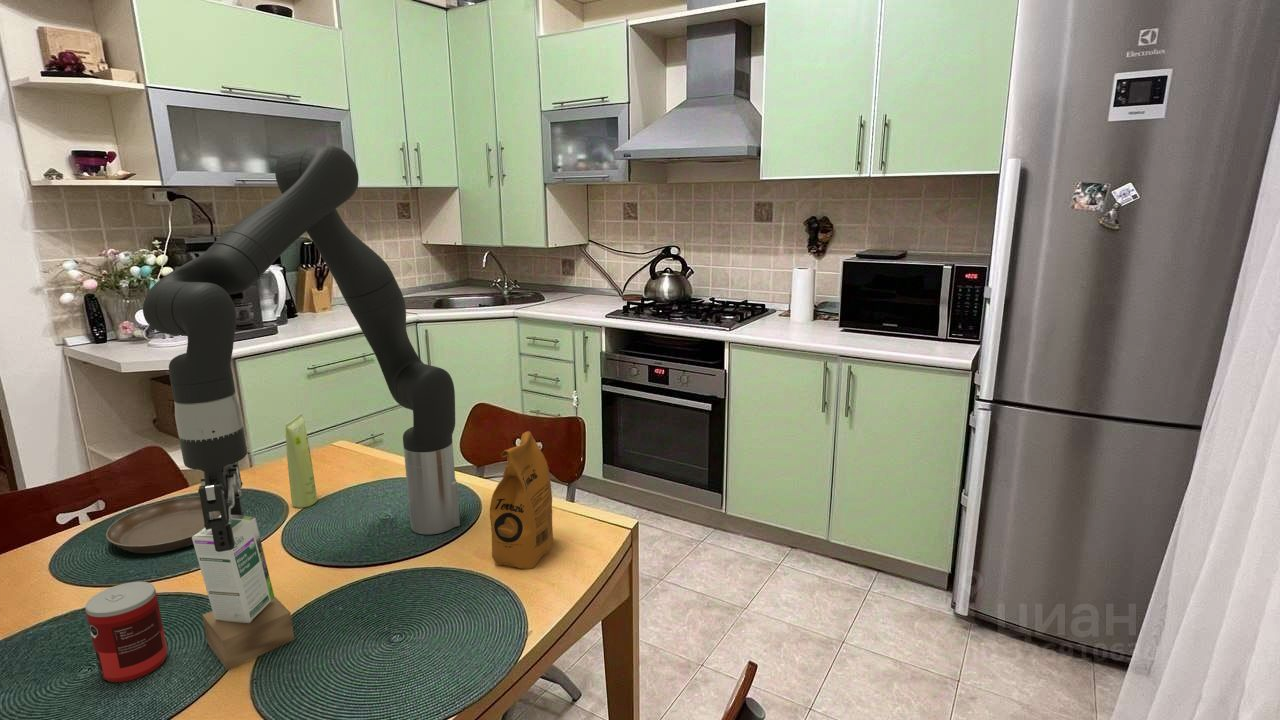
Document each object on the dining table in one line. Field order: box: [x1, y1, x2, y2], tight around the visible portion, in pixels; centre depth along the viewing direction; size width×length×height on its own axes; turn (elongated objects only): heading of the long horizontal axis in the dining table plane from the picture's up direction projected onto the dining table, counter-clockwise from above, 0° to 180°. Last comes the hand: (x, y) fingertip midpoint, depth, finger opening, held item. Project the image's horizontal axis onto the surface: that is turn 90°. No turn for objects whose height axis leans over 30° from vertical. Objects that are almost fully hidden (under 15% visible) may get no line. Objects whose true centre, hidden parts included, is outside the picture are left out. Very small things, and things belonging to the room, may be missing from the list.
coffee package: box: [489, 430, 554, 570], centre depth 122 cm, size 10×12×22 cm
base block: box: [202, 595, 295, 671], centre depth 100 cm, size 9×9×5 cm
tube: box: [285, 412, 318, 509], centre depth 143 cm, size 6×5×20 cm
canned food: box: [85, 581, 168, 683], centre depth 94 cm, size 8×8×11 cm
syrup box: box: [192, 514, 275, 623], centre depth 97 cm, size 6×6×14 cm
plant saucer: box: [105, 496, 221, 554], centre depth 133 cm, size 21×21×3 cm
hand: (230, 535), depth 95 cm, fingers open, 8 cm apart
